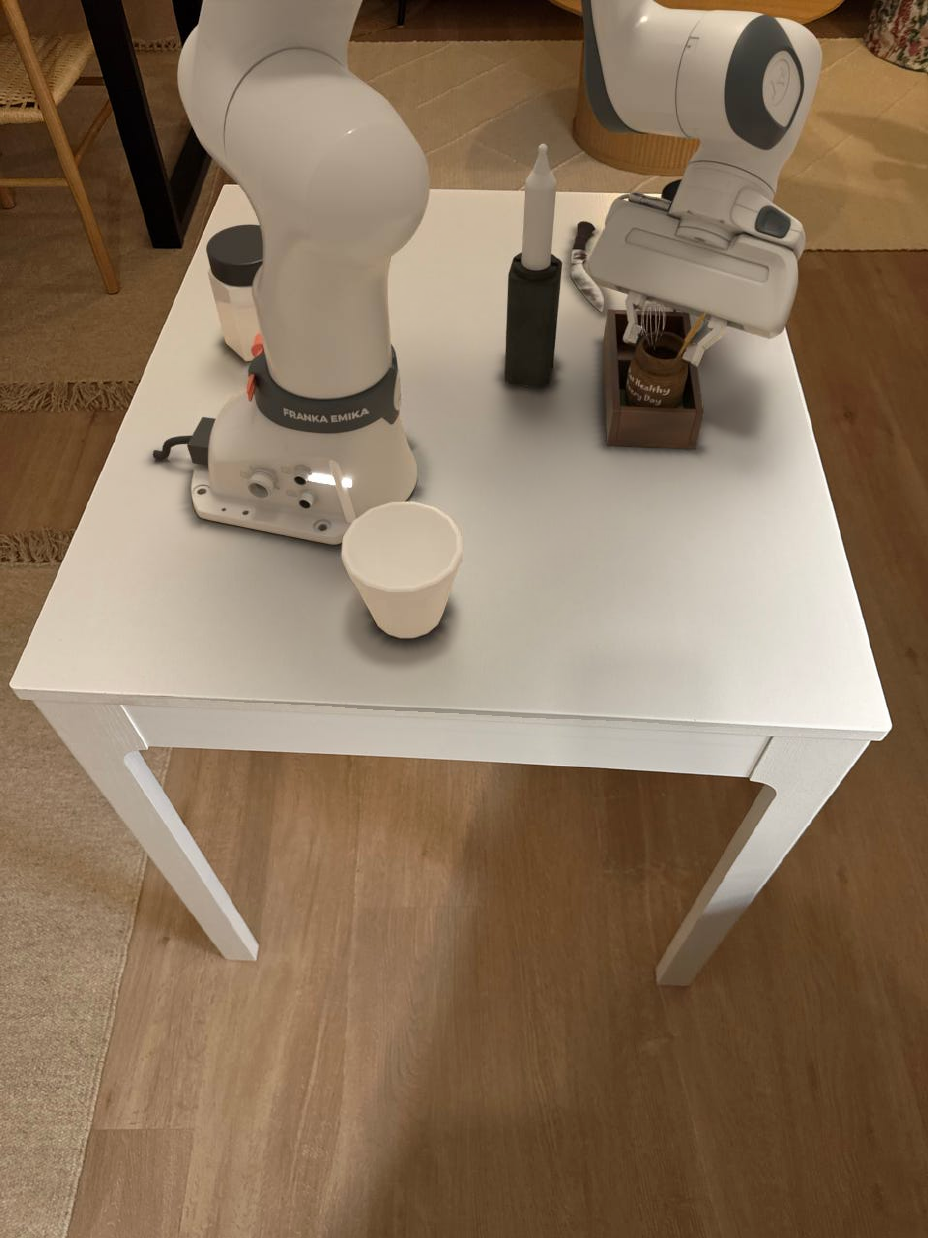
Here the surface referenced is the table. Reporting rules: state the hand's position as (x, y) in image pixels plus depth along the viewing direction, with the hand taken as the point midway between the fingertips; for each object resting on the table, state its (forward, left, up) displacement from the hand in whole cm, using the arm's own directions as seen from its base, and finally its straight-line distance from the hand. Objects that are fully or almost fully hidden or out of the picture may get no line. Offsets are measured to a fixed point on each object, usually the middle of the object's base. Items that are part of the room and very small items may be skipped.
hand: (659, 353), depth 89 cm
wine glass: (+4, +19, -9) cm, 21 cm away
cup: (-23, -27, -9) cm, 37 cm away
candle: (-13, +8, -9) cm, 17 cm away
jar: (-44, +12, -9) cm, 46 cm away
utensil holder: (0, +1, -7) cm, 7 cm away
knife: (-6, +29, -9) cm, 31 cm away
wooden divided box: (0, +5, -9) cm, 10 cm away
